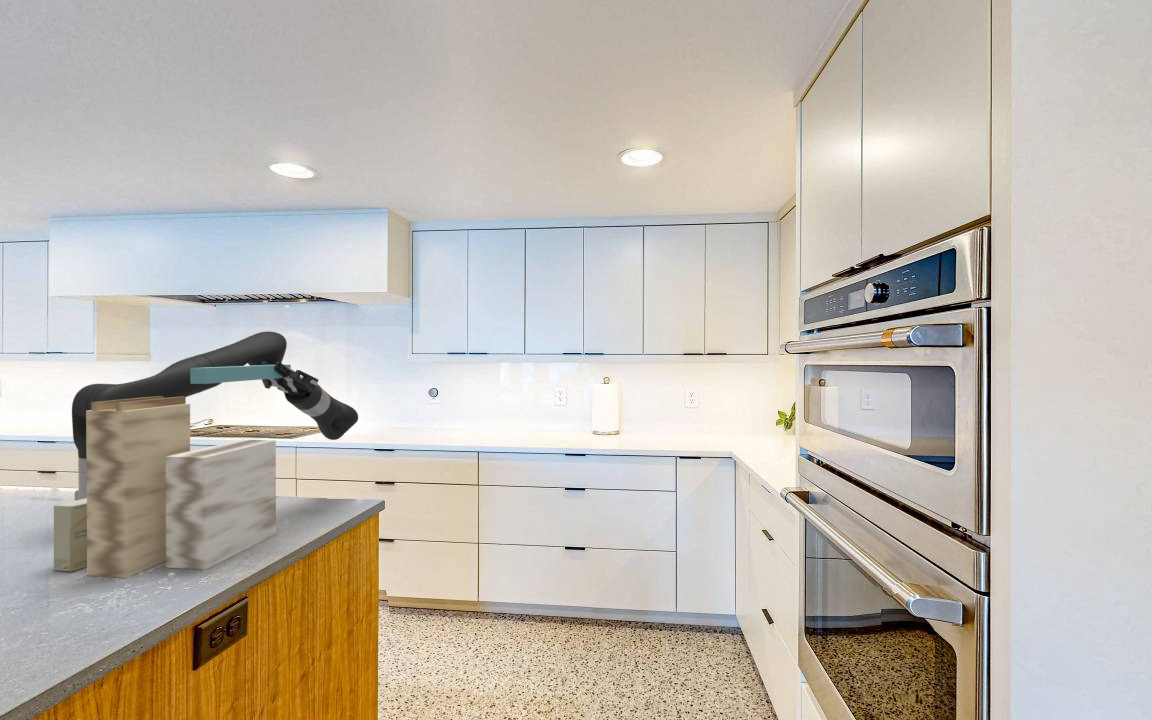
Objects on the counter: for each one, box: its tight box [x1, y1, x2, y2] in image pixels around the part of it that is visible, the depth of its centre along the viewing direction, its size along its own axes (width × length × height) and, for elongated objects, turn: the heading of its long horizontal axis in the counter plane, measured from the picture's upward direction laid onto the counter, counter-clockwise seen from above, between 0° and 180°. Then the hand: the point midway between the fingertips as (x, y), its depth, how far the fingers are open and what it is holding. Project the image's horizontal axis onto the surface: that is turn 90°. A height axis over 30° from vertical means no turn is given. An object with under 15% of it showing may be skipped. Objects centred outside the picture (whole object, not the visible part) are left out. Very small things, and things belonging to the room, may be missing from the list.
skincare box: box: [53, 498, 87, 572], centre depth 103 cm, size 6×4×12 cm
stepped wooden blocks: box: [86, 396, 277, 579], centre depth 110 cm, size 19×25×32 cm
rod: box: [190, 364, 292, 384], centre depth 117 cm, size 3×26×3 cm, turn 174°
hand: (269, 365), depth 125 cm, fingers closed on rod, 3 cm apart
